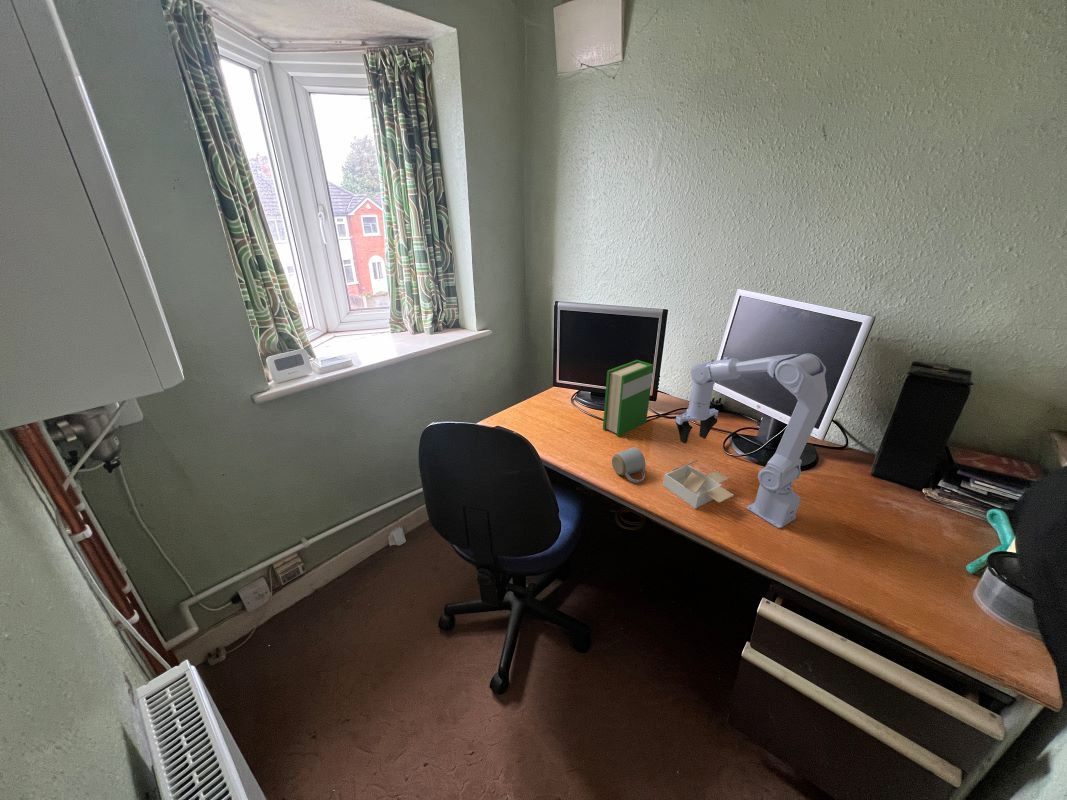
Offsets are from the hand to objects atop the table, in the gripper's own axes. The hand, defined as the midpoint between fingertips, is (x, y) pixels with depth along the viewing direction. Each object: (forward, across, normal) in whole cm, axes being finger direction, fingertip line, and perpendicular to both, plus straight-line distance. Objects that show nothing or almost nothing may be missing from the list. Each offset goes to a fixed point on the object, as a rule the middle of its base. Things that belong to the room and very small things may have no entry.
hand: (692, 439), depth 126 cm
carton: (+10, +6, +12) cm, 17 cm away
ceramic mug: (+10, +20, -4) cm, 23 cm away
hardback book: (+10, +4, -31) cm, 33 cm away
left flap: (+4, +11, +14) cm, 18 cm away
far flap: (+4, +8, +6) cm, 11 cm away
